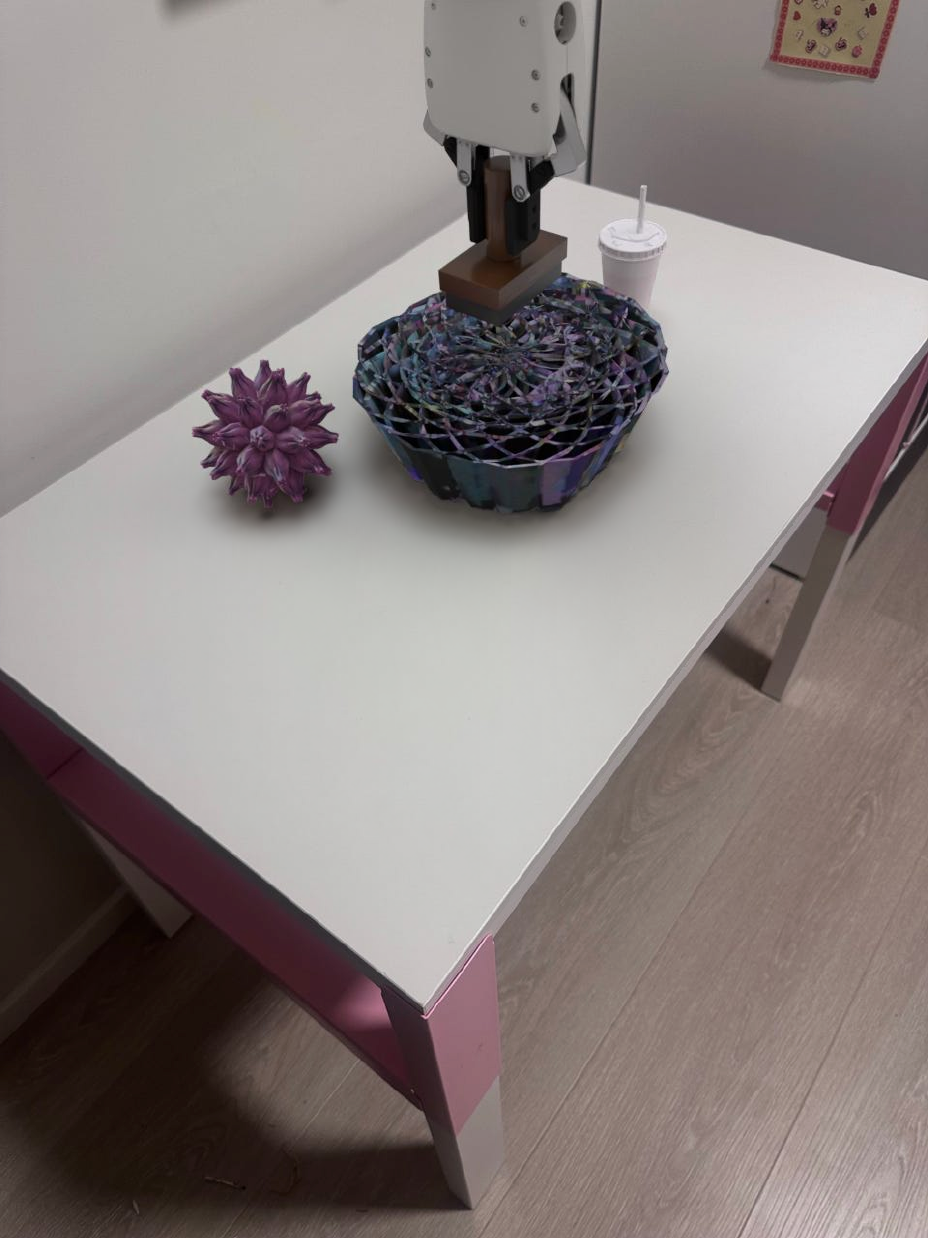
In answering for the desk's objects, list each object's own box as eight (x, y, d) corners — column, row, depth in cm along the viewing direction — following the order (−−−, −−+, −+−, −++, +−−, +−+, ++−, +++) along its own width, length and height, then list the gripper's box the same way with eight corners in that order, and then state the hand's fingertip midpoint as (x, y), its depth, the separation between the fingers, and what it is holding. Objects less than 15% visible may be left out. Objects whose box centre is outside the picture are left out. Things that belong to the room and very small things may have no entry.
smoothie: (660, 344, 87) (679, 201, 76) (594, 346, 87) (604, 205, 76) (652, 308, 91) (668, 168, 80) (589, 311, 91) (598, 172, 80)
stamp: (509, 256, 71) (507, 130, 64) (566, 275, 69) (571, 146, 61) (440, 308, 67) (430, 179, 59) (499, 330, 64) (496, 198, 57)
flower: (271, 561, 73) (175, 481, 76) (372, 479, 78) (278, 408, 81) (252, 470, 63) (143, 384, 66) (369, 383, 68) (262, 307, 71)
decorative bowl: (312, 484, 79) (283, 397, 71) (478, 314, 91) (469, 223, 83) (562, 594, 69) (561, 507, 61) (710, 386, 81) (725, 291, 73)
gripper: (654, -70, 49) (625, 247, 63) (428, -98, 56) (448, 194, 70) (582, -33, 45) (569, 295, 60) (350, -67, 52) (387, 234, 66)
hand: (503, 238), depth 65 cm, fingers closed on stamp, 2 cm apart
